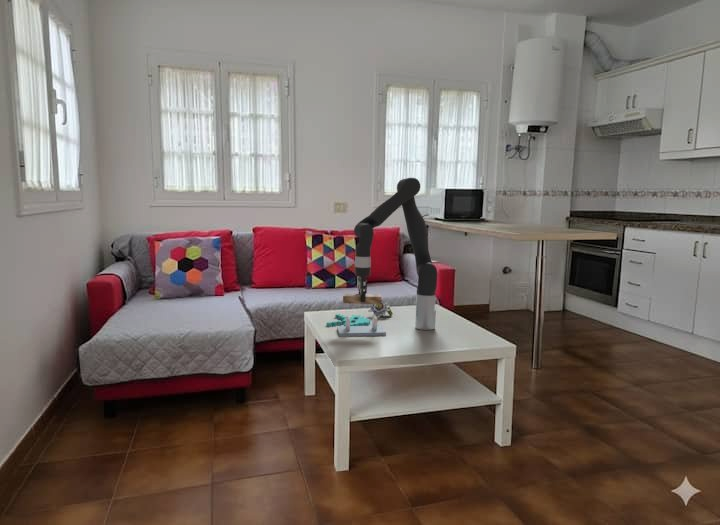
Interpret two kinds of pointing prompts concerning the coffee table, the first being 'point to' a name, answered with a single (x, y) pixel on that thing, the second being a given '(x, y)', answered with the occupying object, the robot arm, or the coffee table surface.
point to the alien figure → (354, 321)
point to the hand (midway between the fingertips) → (361, 300)
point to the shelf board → (357, 299)
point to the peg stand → (361, 329)
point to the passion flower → (380, 309)
